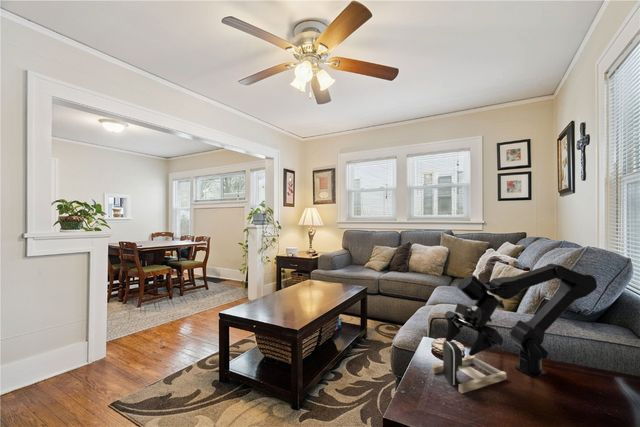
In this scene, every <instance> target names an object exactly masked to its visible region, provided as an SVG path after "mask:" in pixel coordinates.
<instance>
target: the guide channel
mask: <svg viewBox="0 0 640 427" xmlns="http://www.w3.org/2000/svg"><path fill="white" fill-rule="evenodd" d="M470 365H474V366H475V367H477V368H479V369H481V370H483V371H484V372H486V373H488V374H490V375H485V374H484V373H482V372H481V371H479V370H476V369H475V368H473V367H471V366H470ZM430 369H431V370H430V372H431V374H433V375H436V374H439V373H442V372H443V362H442V363H439V364H434V365H431V366H430ZM457 370H458V371H460V372H461V373H463V374H464V375H466V376H468V377H470V378H471V379H472V380H468V381H465V382H462V383H460V384H459V385H458V392H459V393H461V394H464V393H467V392H471V391H474V390H477V389H481V388H483V387H487V386H490V385H493V384H496V383H499V382H503V381H506V380H507V372H505V371H504V370H503V371H502V370H499V369H498V368H496V367H495V366H493V365H490V364H488V363H486V362H484V361H482V360H480V359H479V358H476V356H475V355H473V356H470V355H469V356H465V357H462V366H459V367H458V369H457Z"/></svg>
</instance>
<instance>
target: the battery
mask: <svg viewBox="0 0 640 427" xmlns="http://www.w3.org/2000/svg"><path fill="white" fill-rule="evenodd" d="M462 352H463V351H462V349H461V348H460V347H459V346H458V345H457V343H456V342H454V341H451V342H448V341H446V340H445V341H443V343H442V363H443V373H442V374H443V376H444V377H445V378H446V380H447V381H448V383H449V385H451V386H459V384H461V381H460V380H459V379H458V376H457V372H458V371H457V370H458V367H459V366H462V358H463V353H462Z"/></svg>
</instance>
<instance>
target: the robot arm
mask: <svg viewBox="0 0 640 427" xmlns="http://www.w3.org/2000/svg"><path fill="white" fill-rule="evenodd" d="M555 279H558V280H560V282H559V287H558V290H557V291H556V292H555V293H554V294H553V295H552V296H551V298H550V299H549V300H548V301H547V302H545V304H544V305H543V306H542V307H541V308H540V309H539V310H538V311H537V312H536V313H535V314H534V315H533V316H532V317H531V319H529V320H528V321H525V322H524V321H522V320H521V319H519V320H518V321H517V322H516V323H515V325H514V326H512V327H511V330H510V333H509V336H510V339H511V341H512V342H513V344H514V345H515V348H518V349H519V350H520V351H519V358H518V359H519V360H518V365H515V366H514V368H515V369H516V370H518V371H520V372H522V373H524V374H526V375H528V376H530V377H532V378H537V377H540V376H544V375H547V371H546V370H544V369H542V366H543V365H542V362H543V361H542V360H544V359H545V360H546V359H547V358H548V355H549V352H548V351H547V350H546V349H545V348H544V346H542V344H543V342H544V337H545V332H546V331H547V330H548V329H549V328H550V327H551V326H552V325H553V324H554V323H555V322H556V321H557V320H558V319H559V318H560V317H561V316H562V314H564V312H565V311H566V310H567V309H568V308H570V307H571V306H572V304H573V303H574V302H575V301H577V300H581V299H583V298H586V297H587V296H589V295H590V294H592V293H594V291H596V289H597V287H598V285H597V279H596V278H595V277H594V276H593V275H591V274H587V273H583V272H580V271H579V272H578V271H575V270H572V269H569V268H567V267H565V266H563V265H561V264H557V263H552V262H551V263H548V264H546V265H544V266H541V267H539V268H535V269H532V270H529V271H527V272H523V273H520V274H518V275H514V276H501V277H495V278H492V279H491V280H490V281H484V282H482V281H480V280H479V279H478V277H477V276H475V275H474V274H470V275H469V276H466V277H465V278H463V279H461V280H460V281H459V282H458V284H457V289H458V290H460V292H461V293H462V294H464V295H465V296H466V297H467V298H468V299H469V300H470V301H476V302H475V303H474V304H473V305H472V304H470V305H469V306H468V305H465V304H462V303H459V302H457V304H456V307H455V309H454V311H451V310H447V311H445V314H444V315H443V317H444V318H445V321H446V322H447V324H448V327H447V332H446V337H445V342H446V341H448V342H453V340H454V339H455V338H456V337H457V335H459V333H461V332H462V330H461V329H463V327H464V328H466V329H469V330H471V331H473V332H476V333H477V338H476V340H475V341H474V343H473V345H472V346H471V348H470V350H469V352H468V355H469V356H475V355H476V354H479V353H480V352H482V351H484V350H487V349H490V348H496V346H497V347H499V348H501V346H502V345H503V344H504V337H503V336H502V335H501V334H500V333H499V331H498V330H497V329H496V328H494V327H491V326H488V325H487V324H488V323H491V322H492V321H493V320H492V318H491V317H492V316H493V314H494V312H495V311H496V310H497V309H503V310H504V309H505V308H506V306H505V305H504V302H503V300H510V299H513V298H514V297H516V296H518V295H520V293H521V292H522V291H524V290H526V289H528V288H531V287H534V286H537V285H539V284H543V283H546V282H549V281H552V280H555ZM497 297H499V298H500V299H498V298H497ZM460 315H461V316H460ZM462 318H463V319H462Z"/></svg>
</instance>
